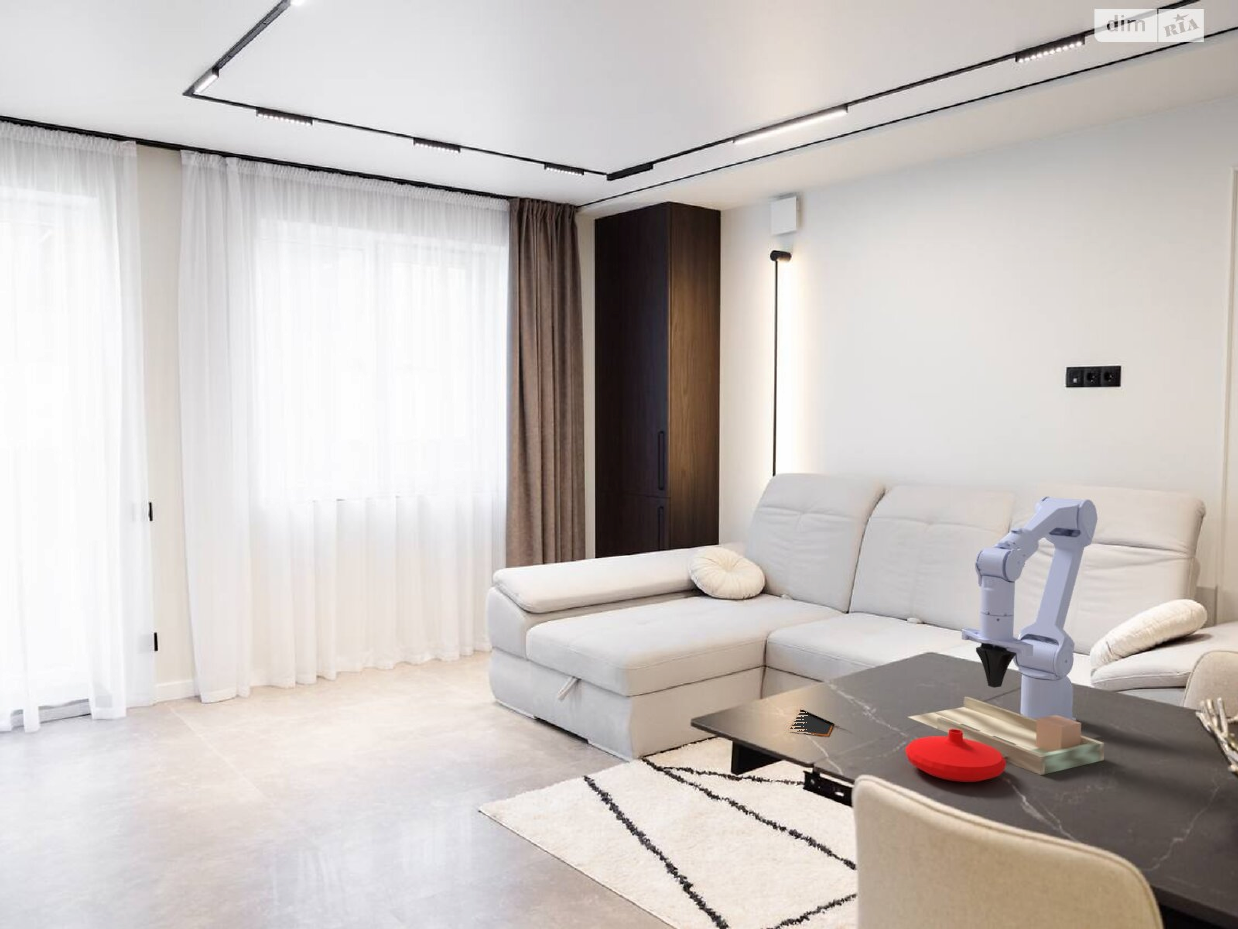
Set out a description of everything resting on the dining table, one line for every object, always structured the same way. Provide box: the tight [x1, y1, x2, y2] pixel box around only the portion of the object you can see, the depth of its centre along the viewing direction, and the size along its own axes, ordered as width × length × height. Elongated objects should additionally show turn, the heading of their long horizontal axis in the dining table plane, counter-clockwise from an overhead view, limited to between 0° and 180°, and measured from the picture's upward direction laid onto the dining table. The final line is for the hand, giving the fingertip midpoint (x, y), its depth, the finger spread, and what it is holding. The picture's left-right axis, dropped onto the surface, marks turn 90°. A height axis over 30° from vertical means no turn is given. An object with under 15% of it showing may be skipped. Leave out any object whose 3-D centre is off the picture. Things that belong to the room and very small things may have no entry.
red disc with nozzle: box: [904, 729, 1007, 783], centre depth 155 cm, size 16×16×7 cm
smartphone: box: [789, 709, 835, 738], centre depth 181 cm, size 8×17×1 cm, turn 159°
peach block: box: [1036, 715, 1082, 752], centre depth 164 cm, size 5×5×5 cm
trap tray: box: [907, 696, 1105, 776], centre depth 172 cm, size 16×30×3 cm, turn 27°
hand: (994, 686), depth 173 cm, fingers closed
